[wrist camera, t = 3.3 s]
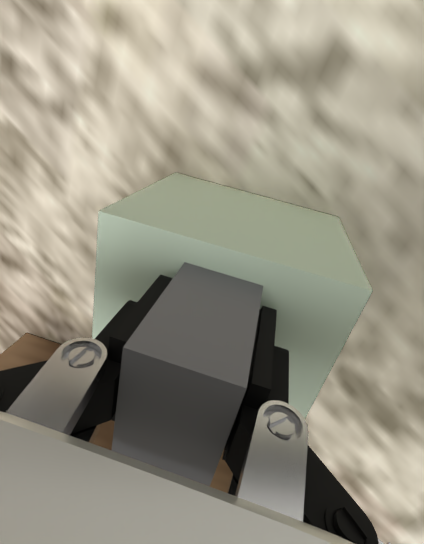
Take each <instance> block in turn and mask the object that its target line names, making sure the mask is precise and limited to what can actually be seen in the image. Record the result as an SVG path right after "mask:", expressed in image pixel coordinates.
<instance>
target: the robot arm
mask: <svg viewBox="0 0 424 544" xmlns="http://www.w3.org/2000/svg"><path fill="white" fill-rule="evenodd" d="M172 279H173V278H171V277H168V276H164V275H159V277H158V278H157V279H156V280H155V281H154V283H153V284H152V285H151V286H150V288H149V289H148V290H147V291H146V292H145V294H144V295H143V296H142V297H141V298H140V300H139V301H138V302H135V301H132V300H129V301H127V302H126V303H125V305H124V306H123V307H122V308H121V309H120V310H119V311H118V313H117V314H116V315H115V316H114V317H113V318H112V319H111V321H110V322H109V323H108V324H107V325H106V326H105V327H104V329H103V330H102V331H101V332H100V333H99V334H98V335H97V337H96V338H95V339H93V338H86V337H83V338H75V339H71V340H69V341H67V342H65V343H63V344H62V345H61V346H60V347H59V348H58V349H57V350H56V351H55V352H54V354H53V355H52V356H51V357H50V359H49V360H46V361H42V362H37V363H33V364H28V365H24V366H19V367H15V368H11V369H6V370H2V371H0V544H384V543H383V542H382V541H380V540H379V539H378V537H377V534H376V532H375V529H374V527H373V525H372V523H371V522H370V520H369V519H368V517H367V516H366V514H365V513H364V512H363V511H362V509H361V508H360V507H359V506H358V505H357V503H356V502H355V501H354V500H353V499H352V497H351V496H350V495H349V494H348V493H347V491H346V490H345V489H344V488H343V487H342V485H341V484H340V483H339V482H338V481H337V479H336V478H335V477H334V476H333V475H332V473H331V472H330V471H329V470H328V469H327V467H326V466H325V465H324V464H323V463H322V461H321V460H320V459H319V458H318V457H317V455H316V454H315V453H314V452H313V451H312V449H311V448H310V447H309V446H308V425H307V423H306V421H305V418H304V417H303V416H302V415H301V413H300V412H299V411H298V410H297V409H295V408H294V407H293V406H291V405H289V351H288V350H287V349H284V348H281V347H278V346H274V344H275V331H276V317H277V310H276V309H272V308H269V307H266V306H262V308H261V309H260V310H259V316H258V322H257V328H256V334H255V341H254V347H253V353H252V359H251V365H250V371H249V377H248V384H247V389H246V392H245V394H244V397H243V400H242V402H241V405H240V407H239V410H238V413H237V415H236V418H235V421H234V423H233V426H232V429H231V431H230V434H229V437H228V439H227V442H226V444H225V447H224V453H223V458H222V460H225V462H226V463H227V465H228V467H229V468H230V470H231V471H232V475H231V478H230V481H229V485H228V489H227V492H226V493H225V492H223V491H220V490H217V489H215V488H212V487H209V486H207V485H204V484H201V483H198V482H196V481H193V480H190V479H188V478H185V477H182V476H180V475H177V474H174V473H171V472H169V471H166V470H163V469H160V468H158V467H155V466H152V465H150V464H147V463H144V462H141V461H139V460H136V459H133V458H130V457H128V456H125V455H122V454H119V453H117V452H114V451H111V450H108V449H106V448H103V447H100V446H97V445H95V444H93V442H94V440H95V438H96V436H97V434H98V432H99V430H100V427H101V424H102V423H105V422H107V421H110V420H113V421H115V414H116V405H117V396H118V387H119V378H120V370H121V361H122V352H123V347H124V345H125V344H126V342H127V341H128V340H129V338H130V337H131V336H132V334H133V333H134V331H135V330H136V329H137V327H138V326H139V324H140V323H141V322H142V320H143V319H144V318H145V316H146V315H147V313H148V312H149V311H150V309H151V308H152V307H153V305H154V304H155V302H156V301H157V300H158V298H159V297H160V295H161V294H162V293H163V291H164V290H165V289H166V287H167V286H168V284H169V283H170V282H171V280H172ZM387 544H391V543H390V542H388V543H387Z"/></svg>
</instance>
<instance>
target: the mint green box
mask: <svg viewBox="0 0 424 544" xmlns="http://www.w3.org/2000/svg"><path fill="white" fill-rule="evenodd" d="M159 275H164V276H168V277H171V278H173V279H172V280H171V282H170V283H169V284H168V286H167V287H166V289H165V290H164V291H163V293H162V294H161V295H160V297H159V298H158V300H157V301H156V302H155V304H154V305H153V307H152V308H151V309H150V311H149V312H148V313H147V315H146V316H145V318H144V319H143V320H142V322H141V323H140V324H139V326H138V327H137V329H136V330H135V331H134V333H133V334H132V336H131V337H130V338H129V340H128V341H127V342H126V344H125V345H124V347H123V352H122V361H121V370H120V378H119V387H118V396H117V405H116V414H115V423H114V432H113V441H112V451H114V452H117V453H120V454H122V455H125V456H128V457H131V458H133V459H136V460H139V461H142V462H144V463H147V464H150V465H153V466H155V467H158V468H161V469H164V470H166V471H169V472H172V473H174V474H177V475H180V476H183V477H185V478H188V479H191V480H194V481H196V482H199V483H202V484H205V485H207V486H210V484H211V481H212V479H213V476H214V474H215V471H216V468H217V466H218V463H219V460H220V458H221V455H222V452H223V450H224V447H225V444H226V442H227V439H228V437H229V434H230V431H231V429H232V426H233V423H234V421H235V418H236V415H237V413H238V410H239V407H240V405H241V402H242V400H243V397H244V394H245V392H246V389H247V384H248V377H249V371H250V365H251V359H252V353H253V347H254V341H255V334H256V328H257V322H258V316H259V310H260V309H261V308H262V306H266V307H269V308H272V309H276V310H277V317H276V331H275V344H274V346H278V347H281V348H284V349H287V350H288V351H289V405H291V406H293V407H294V408H295V409H297V410H298V411H299V412H300V413H301V415H302V416H303V417H304V418H306V416H307V414H308V412H309V410H310V408H311V406H312V404H313V403H314V401H315V399H316V397H317V395H318V393H319V391H320V389H321V387H322V386H323V384H324V382H325V380H326V378H327V376H328V374H329V372H330V371H331V369H332V367H333V365H334V363H335V361H336V359H337V357H338V356H339V354H340V352H341V350H342V348H343V346H344V344H345V342H346V341H347V339H348V337H349V335H350V333H351V331H352V329H353V327H354V325H355V324H356V322H357V320H358V318H359V316H360V314H361V312H362V310H363V309H364V307H365V305H366V303H367V301H368V299H369V297H370V295H371V294H372V292H373V290H372V288H371V286H370V284H369V282H368V279H367V277H366V275H365V273H364V271H363V269H362V266H361V264H360V262H359V260H358V258H357V256H356V253H355V251H354V249H353V247H352V245H351V243H350V241H349V238H348V236H347V234H346V232H345V230H344V228H343V225H342V223H341V221H340V219H339V217H337V216H333V215H330V214H326V213H322V212H319V211H315V210H311V209H308V208H304V207H300V206H297V205H293V204H289V203H286V202H282V201H278V200H275V199H271V198H267V197H264V196H260V195H256V194H253V193H249V192H245V191H242V190H238V189H234V188H231V187H227V186H223V185H220V184H216V183H212V182H209V181H205V180H201V179H198V178H194V177H190V176H187V175H183V174H179V173H174V174H172V175H170V176H168V177H166V178H164V179H162V180H160V181H158V182H156V183H154V184H152V185H150V186H148V187H146V188H144V189H142V190H140V191H138V192H136V193H134V194H132V195H130V196H128V197H126V198H124V199H122V200H120V201H118V202H116V203H114V204H112V205H110V206H108V207H106V208H104V209H102V210H100V211H99V214H98V233H97V252H96V272H95V291H94V310H93V330H92V338H93V339H95V338H96V337H97V335H98V334H99V333H100V332H101V331H102V330H103V329H104V327H105V326H106V325H107V324H108V323H109V322H110V321H111V319H112V318H113V317H114V316H115V315H116V314H117V313H118V311H119V310H120V309H121V308H122V307H123V306H124V305H125V303H126V302H127V301H129V300H132V301H135V302H138V301H139V300H140V298H141V297H142V296H143V295H144V294H145V292H146V291H147V290H148V289H149V288H150V286H151V285H152V284H153V283H154V281H155V280H156V279H157V278H158V277H159Z"/></svg>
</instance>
